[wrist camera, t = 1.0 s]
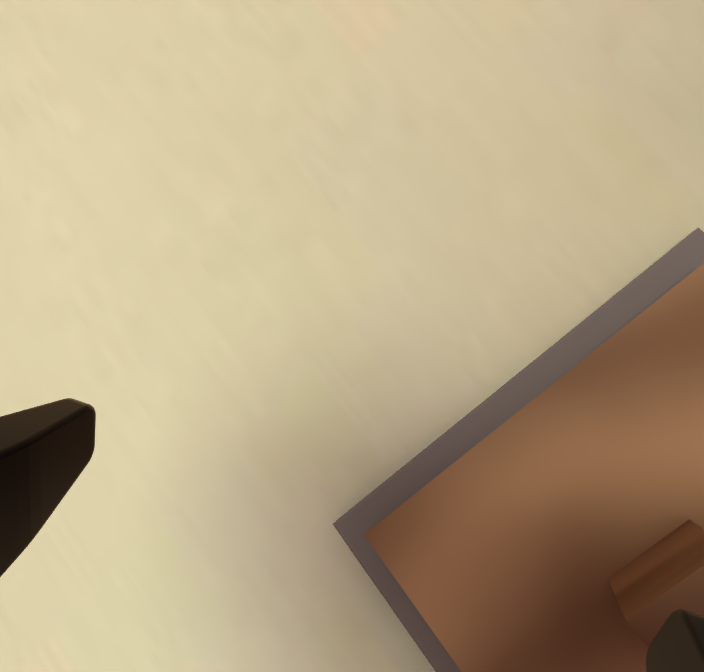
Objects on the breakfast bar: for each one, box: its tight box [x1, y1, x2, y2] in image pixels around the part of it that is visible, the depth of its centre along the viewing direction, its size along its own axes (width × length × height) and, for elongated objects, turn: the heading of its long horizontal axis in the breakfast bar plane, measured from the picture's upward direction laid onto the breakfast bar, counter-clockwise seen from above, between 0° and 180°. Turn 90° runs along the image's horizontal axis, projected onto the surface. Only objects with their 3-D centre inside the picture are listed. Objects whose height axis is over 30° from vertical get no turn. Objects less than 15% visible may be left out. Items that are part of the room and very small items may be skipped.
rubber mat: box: [333, 228, 704, 672], centre depth 19 cm, size 16×16×1 cm
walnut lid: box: [364, 264, 704, 672], centre depth 16 cm, size 14×14×5 cm
